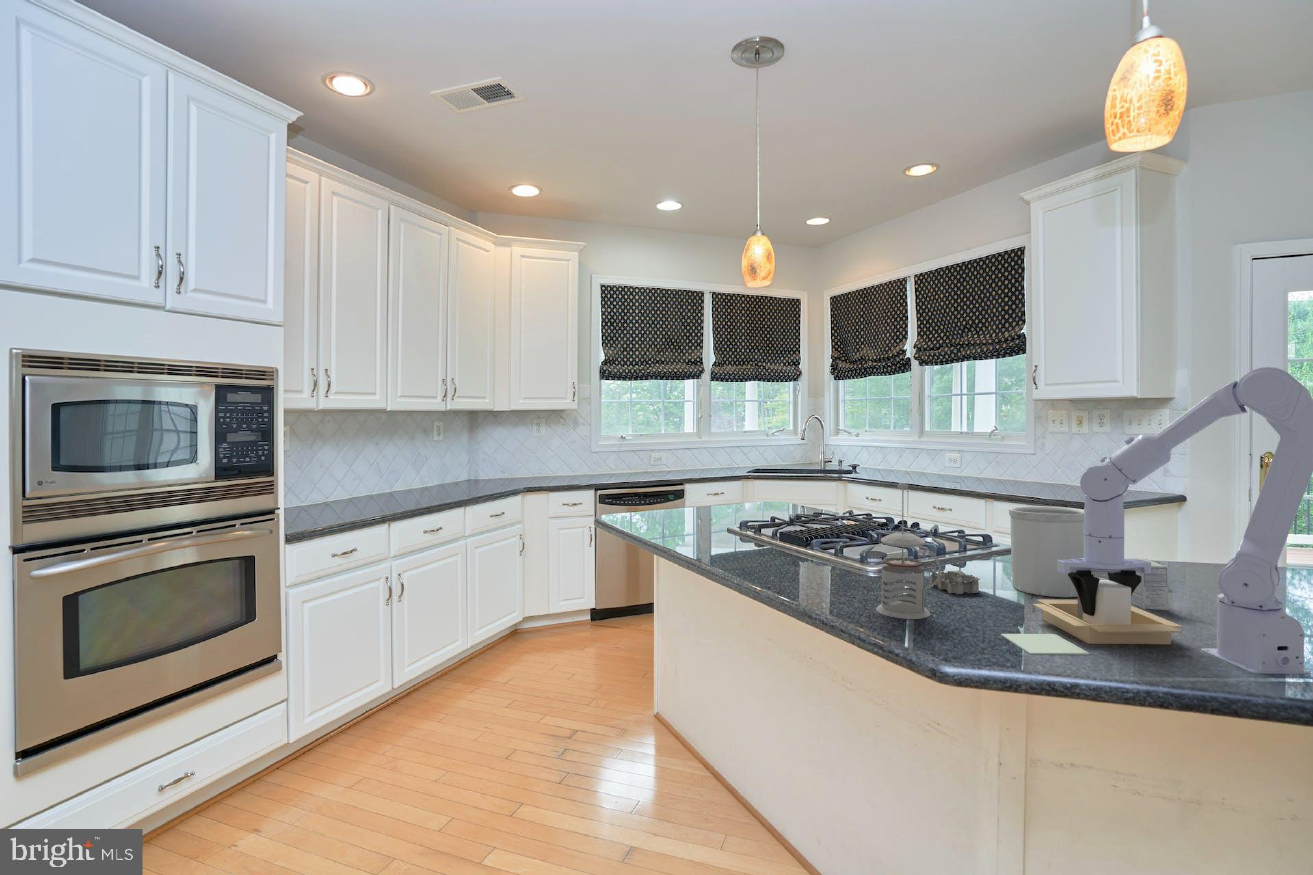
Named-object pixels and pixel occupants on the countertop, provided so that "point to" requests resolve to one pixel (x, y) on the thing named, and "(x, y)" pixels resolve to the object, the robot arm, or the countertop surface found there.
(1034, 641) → the mat
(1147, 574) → the medicine box
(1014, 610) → the countertop surface
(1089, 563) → the robot arm
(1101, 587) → the grey box
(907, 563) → the french press
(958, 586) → the egg carton
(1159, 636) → the tan flat tray
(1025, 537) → the utensil holder
